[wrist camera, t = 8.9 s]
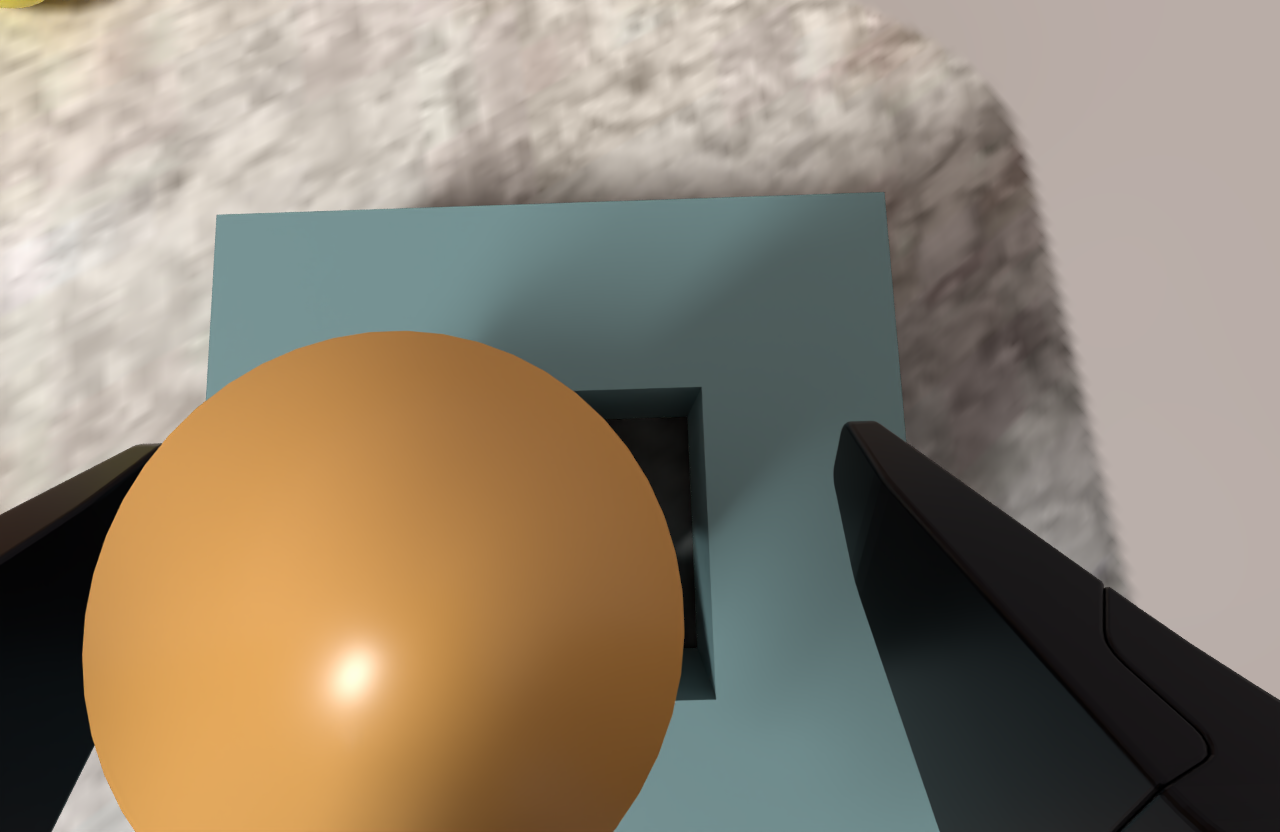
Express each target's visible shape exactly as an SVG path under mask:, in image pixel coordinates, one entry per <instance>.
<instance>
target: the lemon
mask: <svg viewBox="0 0 1280 832" xmlns="http://www.w3.org/2000/svg"><path fill="white" fill-rule="evenodd" d="M42 1H44V0H0V8H25V7H29V6H33V5H36V4H38V3H40V2H42Z"/></svg>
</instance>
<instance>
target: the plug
mask: <svg viewBox="0 0 1280 832" xmlns="http://www.w3.org/2000/svg"><path fill="white" fill-rule="evenodd" d="M683 644H684V612H683V592H682V586H681V580H680V574H679V569H678V563H677V557H676V552H675V549H674V546H673V542H672V539H671V536H670V533H669V529H668V526H667V523H666V520H665V516H664V514H663V512H662V510H661V507H660V505H659V503H658V501H657V499H656V496H655V494H654V492H653V490H652V488H651V486H650V483H649V481H648V479H647V478H646V476H645V474H644V473H643V471H642V470H641V468H640V466H639V465H638V463H637V462H636V460H635V458H634V457H633V455H632V454H631V452H630V451H629V449H628V447H627V446H626V445H625V444H624V443H623V441H622V440H621V439H620V438H619V437H618V435H617V434H616V433H615V432H614V430H613V429H612V428H611V427H610V426H609V424H608V423H607V422H606V421H605V420H604V418H602V417H601V416H600V415H599V414H598V413H597V412H596V411H595V410H594V409H593V408H592V407H591V406H590V405H588V404H587V403H586V402H585V401H584V400H583V399H582V398H581V397H580V396H579V395H578V394H577V393H575V392H574V391H572V390H571V389H570V388H568V387H567V386H565V385H564V384H563V383H561V382H560V381H558V380H557V379H555V378H554V377H553V376H551V375H550V374H548V373H547V372H545V371H544V370H542V369H540V368H538V367H536V366H534V365H532V364H530V363H528V362H526V361H524V360H523V359H521V358H519V357H517V356H515V355H513V354H510V353H507V352H505V351H502V350H499V349H496V348H494V347H491V346H488V345H486V344H483V343H480V342H476V341H472V340H467V339H463V338H458V337H454V336H450V335H445V334H437V333H426V332H415V331H386V332H367V333H361V334H355V335H349V336H343V337H337V338H332V339H328V340H325V341H321V342H318V343H315V344H311V345H308V346H305V347H301V348H298V349H295V350H293V351H291V352H288V353H286V354H284V355H281V356H279V357H277V358H275V359H272V360H270V361H268V362H265V363H263V364H261V365H259V366H258V367H256V368H254V369H252V370H251V371H249V372H247V373H246V374H244V375H242V376H241V377H239V378H237V379H236V380H234V381H232V382H230V383H229V384H227V385H226V386H225V387H223V388H222V389H221V390H220V391H218V392H217V393H216V394H214V395H213V396H212V397H210V398H209V399H208V400H206V401H205V402H204V403H203V404H201V405H200V406H199V407H197V408H196V409H195V410H194V411H193V412H192V413H191V414H190V415H189V416H188V417H187V418H186V419H185V420H184V421H183V422H182V423H181V424H180V425H179V426H178V427H177V428H176V429H175V430H174V431H173V432H172V433H171V434H170V435H169V436H168V437H167V438H166V440H165V441H164V442H163V443H162V445H161V446H160V447H159V448H158V450H157V451H156V452H155V453H154V455H153V456H152V457H151V458H150V459H149V461H148V462H147V463H146V464H145V466H144V467H143V469H142V470H141V472H140V474H139V475H138V477H137V478H136V480H135V482H134V483H133V485H132V486H131V488H130V490H129V491H128V493H127V494H126V496H125V498H124V499H123V501H122V503H121V505H120V508H119V510H118V512H117V514H116V516H115V518H114V520H113V522H112V524H111V527H110V529H109V531H108V533H107V535H106V538H105V541H104V544H103V547H102V550H101V553H100V556H99V559H98V562H97V565H96V568H95V571H94V574H93V579H92V584H91V588H90V593H89V598H88V603H87V608H86V613H85V625H84V638H83V652H82V660H83V679H84V697H85V702H86V707H87V713H88V718H89V724H90V729H91V735H92V738H93V741H94V745H95V748H96V751H97V754H98V757H99V760H100V763H101V766H102V769H103V772H104V775H105V777H106V779H107V781H108V784H109V786H110V788H111V790H112V792H113V794H114V796H115V798H116V800H117V802H118V804H119V806H120V808H121V811H122V812H123V814H124V815H125V817H126V818H127V820H128V821H129V823H130V824H131V826H132V827H133V829H134V830H135V832H613V831H614V830H615V829H616V828H617V826H618V825H619V823H620V822H621V820H622V819H623V817H624V816H625V814H626V813H627V811H628V810H629V808H630V807H631V805H632V804H633V802H634V801H635V799H636V798H637V796H638V795H639V793H640V791H641V789H642V787H643V785H644V783H645V781H646V779H647V777H648V775H649V773H650V771H651V769H652V767H653V765H654V763H655V761H656V759H657V757H658V755H659V752H660V749H661V746H662V743H663V741H664V738H665V735H666V732H667V729H668V726H669V723H670V720H671V718H672V714H673V710H674V705H675V700H676V696H677V691H678V686H679V681H680V677H681V668H682V656H683Z"/></svg>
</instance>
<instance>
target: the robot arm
mask: <svg viewBox="0 0 1280 832" xmlns="http://www.w3.org/2000/svg"><path fill="white" fill-rule="evenodd" d="M161 445H162V443H156V444H139V445H135V446H133V447H131V448H129V449H127V450H125V451H123V452H121V453H119V454H117V455H115V456H113V457H112V458H110V459H108V460H106V461H104V462H102V463H100V464H98V465H96V466H94V467H92V468H90V469H88V470H86V471H84V472H82V473H80V474H78V475H77V476H75V477H73V478H71V479H69V480H67V481H65V482H63V483H61V484H59V485H57V486H55V487H53V488H51V489H49V490H47V491H45V492H43V493H42V494H40V495H38V496H36V497H34V498H32V499H30V500H28V501H26V502H24V503H22V504H20V505H18V506H16V507H14V508H12V509H10V510H8V511H7V512H5V513H3V514H1V515H0V832H52V830H53V828H54V826H55V824H56V822H57V820H58V818H59V816H60V814H61V812H62V810H63V808H64V806H65V804H66V802H67V800H68V798H69V796H70V794H71V792H72V790H73V788H74V786H75V784H76V782H77V780H78V778H79V776H80V774H81V772H82V770H83V768H84V766H85V764H86V762H87V760H88V758H89V756H90V754H91V752H92V750H93V748H94V746H95V745H94V741H93V738H92V735H91V729H90V724H89V718H88V713H87V707H86V702H85V697H84V679H83V660H82V652H83V638H84V625H85V613H86V608H87V603H88V598H89V593H90V588H91V584H92V579H93V574H94V571H95V568H96V565H97V562H98V559H99V556H100V553H101V550H102V547H103V544H104V541H105V538H106V535H107V533H108V531H109V529H110V527H111V524H112V522H113V520H114V518H115V516H116V514H117V512H118V510H119V508H120V505H121V503H122V501H123V499H124V498H125V496H126V494H127V493H128V491H129V490H130V488H131V486H132V485H133V483H134V482H135V480H136V478H137V477H138V475H139V474H140V472H141V470H142V469H143V467H144V466H145V464H146V463H147V462H148V461H149V459H150V458H151V457H152V456H153V455H154V453H155V452H156V451H157V450H158V448H159V447H160V446H161ZM833 480H834V487H835V492H836V496H837V501H838V506H839V511H840V516H841V520H842V525H843V530H844V535H845V539H846V544H847V549H848V554H849V558H850V563H851V568H852V572H853V576H854V581H855V584H856V587H857V591H858V594H859V597H860V600H861V603H862V606H863V609H864V612H865V615H866V618H867V621H868V624H869V627H870V630H871V632H872V635H873V638H874V641H875V644H876V647H877V650H878V653H879V656H880V659H881V662H882V665H883V668H884V671H885V673H886V676H887V679H888V682H889V685H890V688H891V691H892V694H893V697H894V700H895V703H896V706H897V709H898V712H899V714H900V717H901V720H902V723H903V726H904V729H905V732H906V735H907V738H908V741H909V744H910V747H911V750H912V753H913V756H914V758H915V761H916V764H917V767H918V770H919V773H920V776H921V779H922V782H923V785H924V788H925V791H926V794H927V797H928V799H929V802H930V805H931V808H932V811H933V814H934V817H935V820H936V823H937V826H938V829H939V832H1280V700H1279V699H1277V698H1276V697H1274V696H1272V695H1271V694H1269V693H1268V692H1266V691H1264V690H1263V689H1261V688H1259V687H1258V686H1256V685H1255V684H1253V683H1251V682H1250V681H1248V680H1247V679H1245V678H1244V677H1242V676H1241V675H1239V674H1237V673H1236V672H1234V671H1233V670H1231V669H1230V668H1228V667H1226V666H1225V665H1223V664H1222V663H1220V662H1219V661H1217V660H1216V659H1214V658H1213V657H1211V656H1209V655H1208V654H1206V653H1205V652H1203V651H1201V650H1200V649H1198V648H1197V647H1195V646H1194V645H1192V644H1190V643H1189V642H1188V641H1186V640H1185V639H1183V638H1182V637H1181V636H1179V635H1178V634H1176V633H1175V632H1173V631H1172V630H1170V629H1169V628H1167V627H1166V626H1165V625H1163V624H1162V623H1160V622H1159V621H1157V620H1156V619H1154V618H1153V617H1151V616H1150V615H1148V614H1147V613H1146V612H1144V611H1143V610H1141V609H1140V608H1138V607H1137V606H1136V605H1134V604H1133V603H1131V602H1130V601H1129V600H1127V599H1126V598H1124V597H1123V596H1122V595H1120V594H1119V593H1117V592H1116V591H1115V590H1113V589H1112V588H1110V587H1106V588H1104V585H1103V583H1102V582H1101V581H1100V580H1099V579H1097V578H1096V577H1095V576H1093V575H1092V574H1090V573H1089V572H1088V571H1086V570H1085V569H1083V568H1082V567H1080V566H1079V565H1078V564H1076V563H1075V562H1073V561H1072V560H1071V559H1069V558H1068V557H1066V556H1065V555H1064V554H1062V553H1061V552H1059V551H1058V550H1057V549H1055V548H1054V547H1052V546H1051V545H1050V544H1048V543H1047V542H1045V541H1044V540H1043V539H1041V538H1040V537H1038V536H1037V535H1036V534H1034V533H1033V532H1031V531H1030V530H1029V529H1027V528H1026V527H1024V526H1023V525H1022V524H1020V523H1019V522H1017V521H1016V520H1015V519H1013V518H1012V517H1010V516H1009V515H1008V514H1006V513H1005V512H1003V511H1002V510H1001V509H999V508H998V507H996V506H995V505H993V504H992V503H991V502H989V501H988V500H986V499H985V498H984V497H982V496H981V495H979V494H978V493H977V492H975V491H974V490H972V489H971V488H970V487H968V486H967V485H965V484H964V483H963V482H961V481H960V480H958V479H957V478H956V477H954V476H953V475H951V474H950V473H949V472H947V471H946V470H944V469H943V468H942V467H940V466H939V465H937V464H936V463H935V462H933V461H932V460H930V459H929V458H928V457H926V456H925V455H923V454H922V453H921V452H919V451H918V450H916V449H915V448H914V447H912V446H911V445H909V444H908V443H907V442H905V441H904V440H902V439H901V438H899V437H898V436H897V435H895V434H894V433H892V432H891V431H890V430H888V429H887V428H885V427H884V426H883V425H881V424H880V423H878V422H876V421H849V422H847V423H845V424H844V425H843V427H842V429H841V433H840V438H839V443H838V448H837V453H836V458H835V463H834V469H833Z"/></svg>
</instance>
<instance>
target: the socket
mask: <svg viewBox="0 0 1280 832" xmlns="http://www.w3.org/2000/svg"><path fill="white" fill-rule="evenodd" d="M386 331H415V332H426V333H437V334H445V335H450V336H454V337H458V338H463V339H467V340H472V341H476V342H480V343H483V344H486V345H488V346H491V347H494V348H496V349H499V350H502V351H505V352H507V353H510V354H513V355H515V356H517V357H519V358H521V359H523V360H524V361H526V362H528V363H530V364H532V365H534V366H536V367H538V368H540V369H542V370H544V371H545V372H547V373H548V374H550V375H551V376H553V377H554V378H555V379H557V380H558V381H560V382H561V383H563V384H564V385H565V386H567V387H568V388H570V389H571V390H572V391H574V392H575V393H577V394H578V395H579V396H580V397H581V398H582V399H583V400H584V401H585V402H586V403H587V404H588V405H590V406H591V407H592V408H593V409H594V410H595V411H596V412H597V413H598V414H599V415H600V416H601V417H602V418H604V419H629V418H660V417H687V419H688V443H689V466H690V490H691V513H692V537H693V560H694V583H695V607H696V630H697V648H683V656H682V668H681V677H680V681H679V686H678V691H677V696H676V700H675V705H674V710H673V714H672V718H671V720H670V723H669V726H668V729H667V732H666V735H665V738H664V741H663V743H662V746H661V749H660V752H659V755H658V757H657V759H656V761H655V763H654V765H653V767H652V769H651V771H650V773H649V775H648V777H647V779H646V781H645V783H644V785H643V787H642V789H641V791H640V793H639V795H638V796H637V798H636V799H635V801H634V802H633V804H632V805H631V807H630V808H629V810H628V811H627V813H626V814H625V816H624V817H623V819H622V820H621V822H620V823H619V825H618V826H617V828H616V829H615V830H614V831H613V832H939V829H938V826H937V823H936V820H935V817H934V814H933V811H932V808H931V805H930V802H929V799H928V797H927V794H926V791H925V788H924V785H923V782H922V779H921V776H920V773H919V770H918V767H917V764H916V761H915V758H914V756H913V753H912V750H911V747H910V744H909V741H908V738H907V735H906V732H905V729H904V726H903V723H902V720H901V717H900V714H899V712H898V709H897V706H896V703H895V700H894V697H893V694H892V691H891V688H890V685H889V682H888V679H887V676H886V673H885V671H884V668H883V665H882V662H881V659H880V656H879V653H878V650H877V647H876V644H875V641H874V638H873V635H872V632H871V630H870V627H869V624H868V621H867V618H866V615H865V612H864V609H863V606H862V603H861V600H860V597H859V594H858V591H857V587H856V584H855V581H854V576H853V572H852V568H851V563H850V558H849V554H848V549H847V544H846V539H845V535H844V530H843V525H842V520H841V516H840V511H839V506H838V501H837V496H836V492H835V487H834V480H833V469H834V463H835V458H836V453H837V448H838V443H839V438H840V433H841V429H842V427H843V425H844V424H845V423H847V422H849V421H876V422H878V423H880V424H881V425H883V426H884V427H885V428H887V429H888V430H890V431H891V432H892V433H894V434H895V435H897V436H898V437H899V438H901V439H902V440H904V441H905V442H906V433H905V422H904V410H903V399H902V388H901V376H900V365H899V353H898V342H897V331H896V319H895V308H894V296H893V285H892V274H891V262H890V251H889V239H888V228H887V217H886V205H885V194H884V192H870V193H841V194H812V195H782V196H753V197H724V198H694V199H665V200H636V201H606V202H577V203H548V204H519V205H489V206H460V207H431V208H401V209H372V210H343V211H314V212H284V213H255V214H226V215H217V218H216V235H215V252H214V270H213V287H212V304H211V322H210V339H209V356H208V373H207V391H206V400H208V399H209V398H210V397H212V396H213V395H214V394H216V393H217V392H218V391H220V390H221V389H222V388H223V387H225V386H226V385H227V384H229V383H230V382H232V381H234V380H236V379H237V378H239V377H241V376H242V375H244V374H246V373H247V372H249V371H251V370H252V369H254V368H256V367H258V366H259V365H261V364H263V363H265V362H268V361H270V360H272V359H275V358H277V357H279V356H281V355H284V354H286V353H288V352H291V351H293V350H295V349H298V348H301V347H305V346H308V345H311V344H315V343H318V342H321V341H325V340H328V339H332V338H337V337H343V336H349V335H355V334H361V333H367V332H386Z"/></svg>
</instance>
